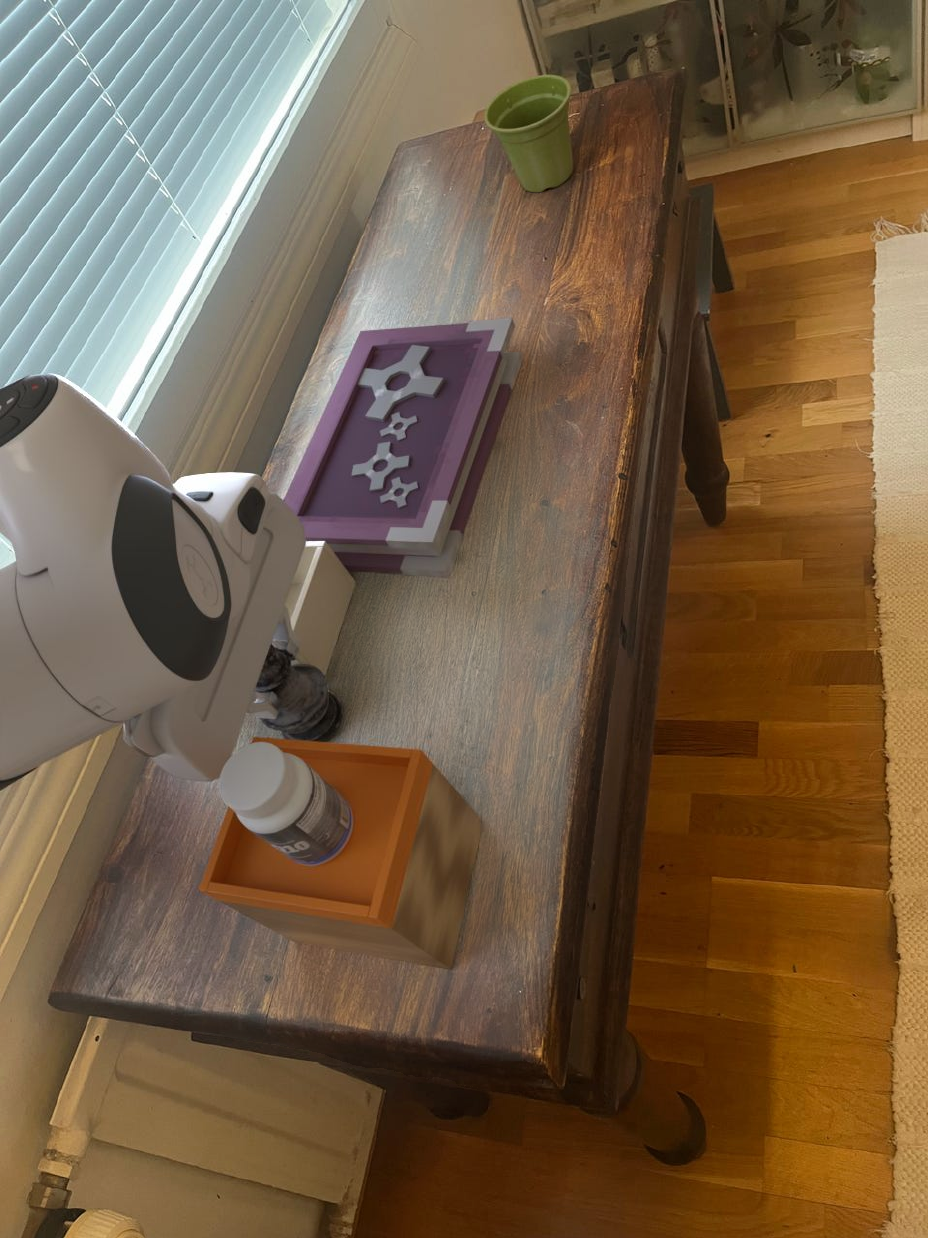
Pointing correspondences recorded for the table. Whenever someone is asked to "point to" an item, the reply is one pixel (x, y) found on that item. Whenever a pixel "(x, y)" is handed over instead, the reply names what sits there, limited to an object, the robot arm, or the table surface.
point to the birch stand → (406, 892)
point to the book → (406, 445)
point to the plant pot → (535, 130)
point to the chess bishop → (299, 699)
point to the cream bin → (318, 603)
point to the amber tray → (370, 862)
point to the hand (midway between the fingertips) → (281, 680)
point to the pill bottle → (286, 803)
